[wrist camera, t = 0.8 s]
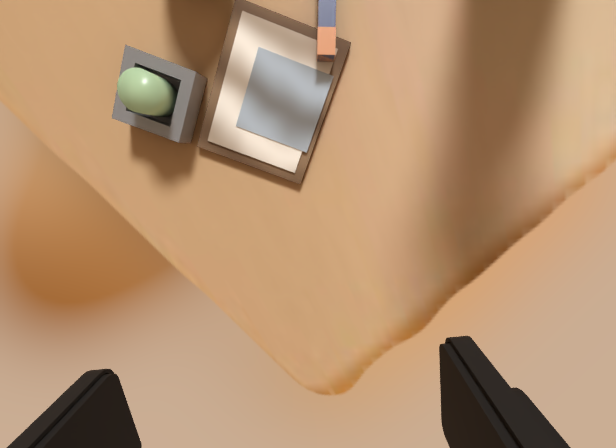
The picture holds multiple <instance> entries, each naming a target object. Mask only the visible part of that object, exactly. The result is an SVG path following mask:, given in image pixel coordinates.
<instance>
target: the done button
mask: <svg viewBox="0 0 616 448" xmlns="http://www.w3.org/2000/svg"><path fill="white" fill-rule="evenodd" d="M117 91H118V95H119V98H120V100H121V101H122V103H123V104H124V105H125V106H126V107H127V108H128V109H129V110H131V111H133V112H136V113H141V114H147V115H152V116H157V117H167V116H169V115H171V114H172V113H173V112H174V108H175V104H176V100H177V95H178V94H177V91H176V89H175V87H174V86H173V85H172V84H171V83H170V82H169V81H168V80H166V79H164V78H161V77H159V76H157V75H155V74H153V73H150V72H148V71H146V70H144V69H141V68H130V69H127V70H126V71H124V72H123V73H122V74H121V76H120V77H119V80H118V84H117Z"/></svg>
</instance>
